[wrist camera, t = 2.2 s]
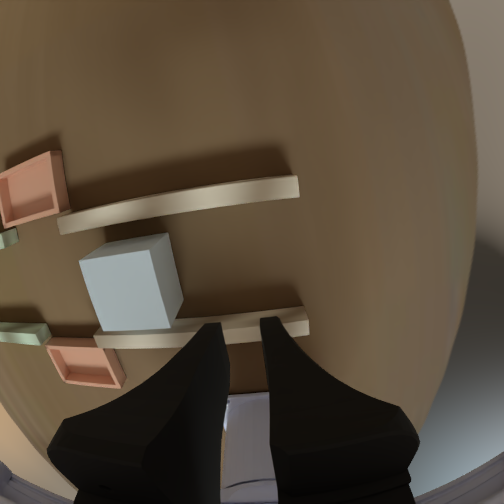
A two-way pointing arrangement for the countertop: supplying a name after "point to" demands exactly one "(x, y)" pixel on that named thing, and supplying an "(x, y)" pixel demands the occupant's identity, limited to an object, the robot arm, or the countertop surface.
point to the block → (134, 283)
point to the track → (166, 203)
